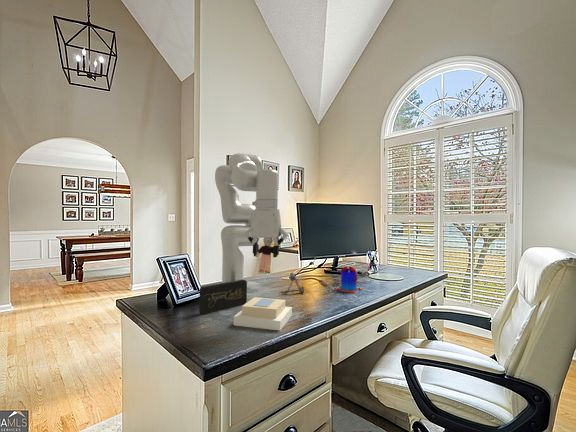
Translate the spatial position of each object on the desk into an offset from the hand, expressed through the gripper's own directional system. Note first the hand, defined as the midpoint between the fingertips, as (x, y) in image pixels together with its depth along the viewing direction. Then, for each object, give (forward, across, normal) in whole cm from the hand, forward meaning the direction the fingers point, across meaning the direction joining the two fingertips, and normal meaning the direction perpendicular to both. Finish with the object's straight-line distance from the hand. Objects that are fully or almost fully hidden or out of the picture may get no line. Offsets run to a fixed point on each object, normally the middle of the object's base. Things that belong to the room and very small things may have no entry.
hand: (265, 256), depth 110 cm
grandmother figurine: (+6, 0, 0) cm, 6 cm away
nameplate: (+23, -19, +8) cm, 31 cm away
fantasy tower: (+23, +26, +56) cm, 66 cm away
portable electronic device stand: (+23, +1, +44) cm, 49 cm away
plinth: (+22, 0, 0) cm, 22 cm away
